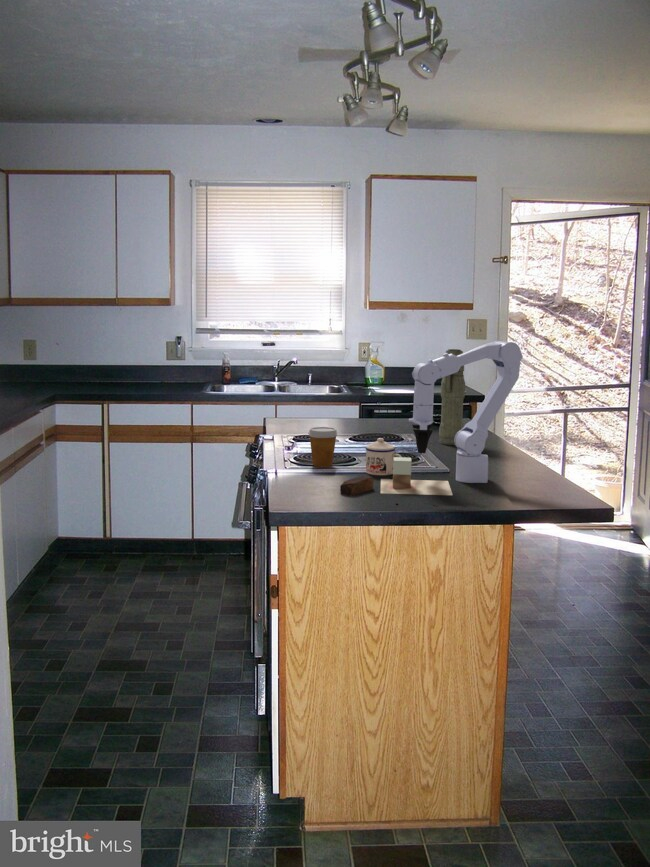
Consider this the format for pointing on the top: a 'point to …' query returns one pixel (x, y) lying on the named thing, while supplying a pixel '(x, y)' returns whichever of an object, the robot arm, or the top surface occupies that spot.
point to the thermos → (452, 403)
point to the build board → (418, 487)
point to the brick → (357, 485)
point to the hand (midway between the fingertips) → (421, 450)
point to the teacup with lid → (380, 458)
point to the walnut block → (401, 481)
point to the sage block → (402, 466)
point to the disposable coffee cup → (322, 445)
